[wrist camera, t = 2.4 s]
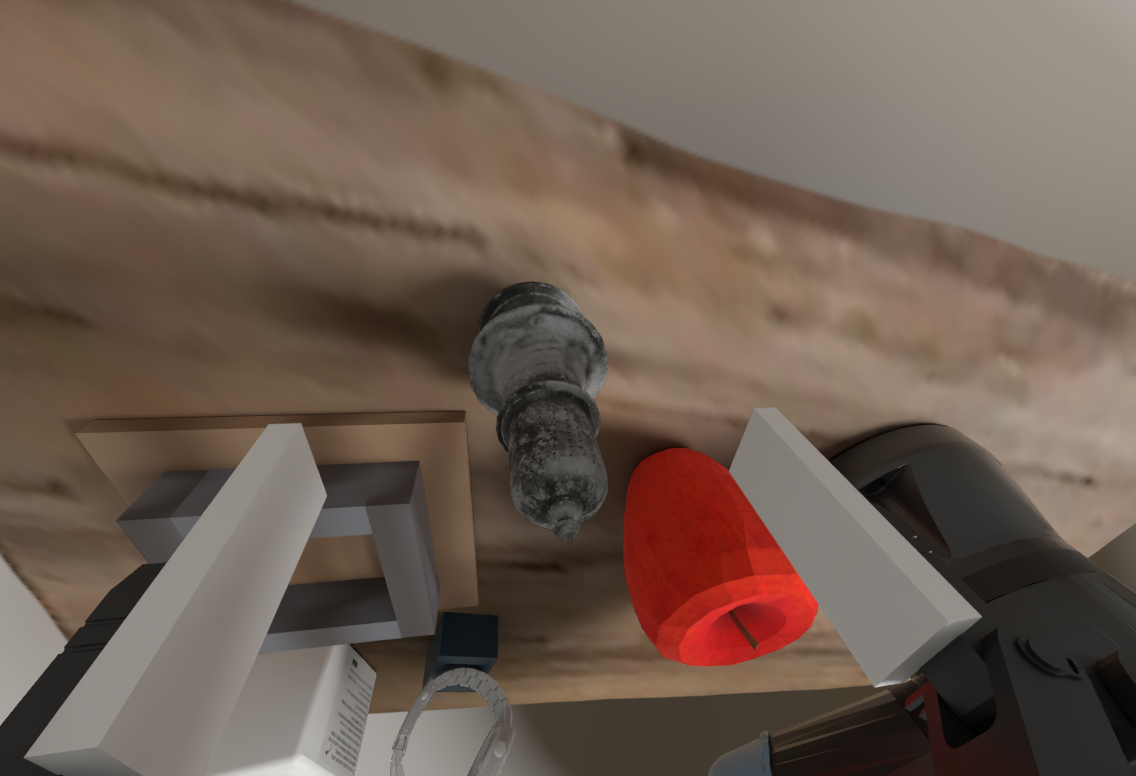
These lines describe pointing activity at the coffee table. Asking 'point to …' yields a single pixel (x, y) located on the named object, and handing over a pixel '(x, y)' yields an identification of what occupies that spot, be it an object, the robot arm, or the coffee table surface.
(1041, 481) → the coffee table surface
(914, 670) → the robot arm
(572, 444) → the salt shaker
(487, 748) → the watch
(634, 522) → the apple
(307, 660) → the container
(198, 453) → the holder
